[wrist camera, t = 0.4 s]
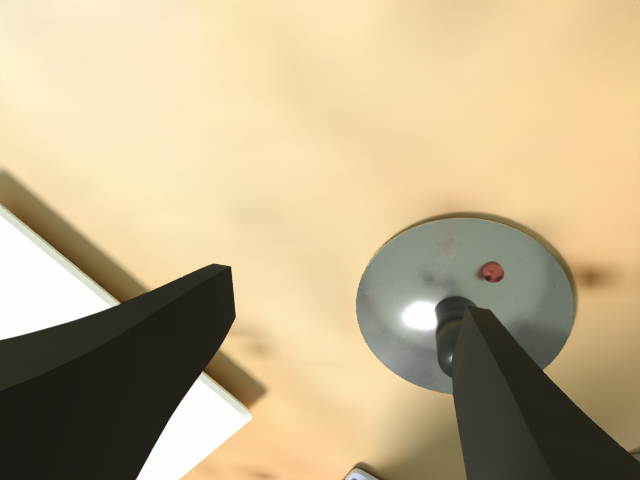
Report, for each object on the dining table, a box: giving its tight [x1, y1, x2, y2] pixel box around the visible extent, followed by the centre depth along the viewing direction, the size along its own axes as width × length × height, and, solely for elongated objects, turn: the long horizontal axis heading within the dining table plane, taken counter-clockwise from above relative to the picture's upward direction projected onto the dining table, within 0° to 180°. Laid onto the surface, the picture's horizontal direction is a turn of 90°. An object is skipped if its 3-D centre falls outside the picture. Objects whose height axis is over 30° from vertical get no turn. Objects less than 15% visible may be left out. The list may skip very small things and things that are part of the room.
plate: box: [0, 204, 252, 480], centre depth 32 cm, size 26×26×2 cm
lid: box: [356, 217, 574, 394], centre depth 19 cm, size 12×12×5 cm
